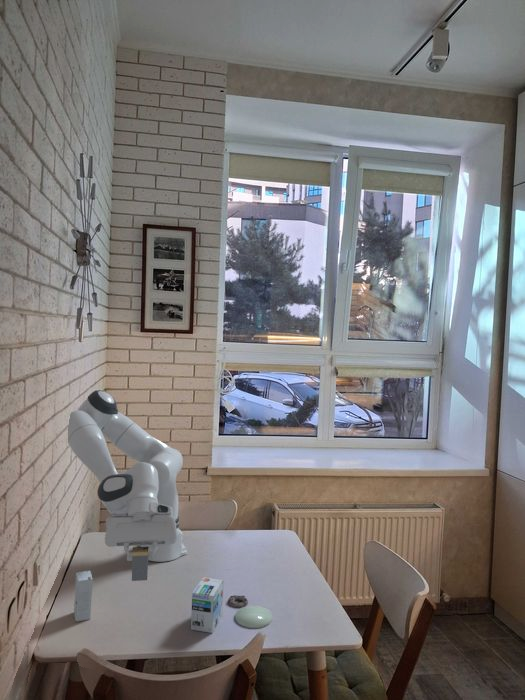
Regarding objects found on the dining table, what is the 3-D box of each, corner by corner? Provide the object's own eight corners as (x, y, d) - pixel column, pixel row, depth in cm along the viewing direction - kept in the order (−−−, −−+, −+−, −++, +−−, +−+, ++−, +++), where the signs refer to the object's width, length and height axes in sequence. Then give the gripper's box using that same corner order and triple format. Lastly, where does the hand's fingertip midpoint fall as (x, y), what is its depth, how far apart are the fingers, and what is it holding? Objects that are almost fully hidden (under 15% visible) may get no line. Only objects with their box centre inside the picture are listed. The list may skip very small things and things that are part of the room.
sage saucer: (233, 610, 163) (233, 606, 163) (268, 608, 165) (268, 604, 165) (237, 630, 152) (238, 626, 152) (275, 628, 154) (275, 624, 154)
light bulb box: (212, 634, 149) (214, 596, 149) (189, 630, 150) (191, 592, 150) (223, 614, 160) (224, 579, 159) (201, 611, 161) (202, 576, 161)
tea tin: (132, 575, 151) (133, 547, 151) (147, 574, 152) (148, 546, 151) (131, 581, 147) (132, 552, 147) (147, 580, 148) (148, 551, 148)
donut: (253, 609, 165) (254, 602, 164) (230, 613, 162) (230, 607, 161) (244, 596, 172) (244, 590, 172) (221, 600, 169) (221, 594, 169)
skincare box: (73, 612, 158) (74, 572, 157) (89, 609, 160) (90, 569, 159) (75, 622, 152) (76, 581, 152) (91, 619, 154) (93, 578, 154)
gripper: (105, 509, 154) (100, 556, 144) (177, 507, 157) (176, 553, 148) (107, 519, 158) (102, 565, 149) (176, 517, 162) (176, 562, 153)
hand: (140, 559), depth 149 cm, fingers closed on tea tin, 4 cm apart
